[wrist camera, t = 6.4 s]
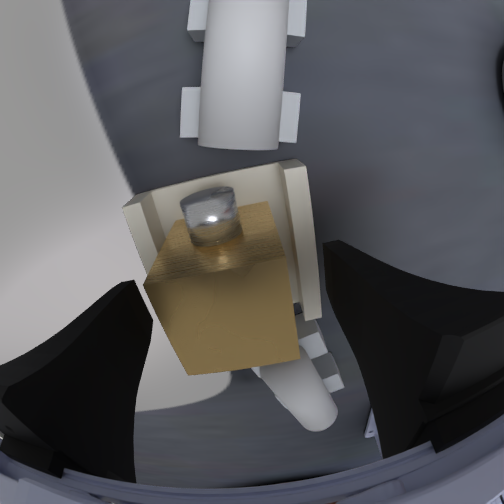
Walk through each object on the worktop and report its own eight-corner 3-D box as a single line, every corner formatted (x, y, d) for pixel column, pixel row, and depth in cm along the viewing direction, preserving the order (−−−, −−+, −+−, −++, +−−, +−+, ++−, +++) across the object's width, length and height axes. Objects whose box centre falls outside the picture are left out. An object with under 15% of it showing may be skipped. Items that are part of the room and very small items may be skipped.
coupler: (285, 303, 14) (303, 381, 10) (208, 317, 15) (200, 396, 10) (261, 168, 11) (277, 207, 7) (166, 189, 11) (124, 240, 7)
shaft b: (287, 141, 11) (312, 155, 7) (188, 136, 11) (163, 148, 7) (297, 9, 8) (325, -32, 5) (198, 3, 8) (181, -42, 4)
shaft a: (337, 367, 18) (354, 418, 14) (282, 388, 18) (290, 439, 14) (310, 307, 15) (329, 367, 11) (242, 335, 16) (245, 396, 12)
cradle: (313, 295, 15) (321, 317, 13) (183, 318, 15) (177, 342, 13) (296, 158, 11) (306, 166, 10) (136, 194, 12) (121, 207, 10)
